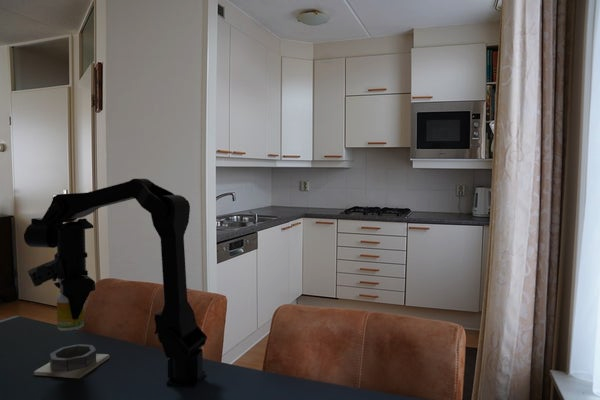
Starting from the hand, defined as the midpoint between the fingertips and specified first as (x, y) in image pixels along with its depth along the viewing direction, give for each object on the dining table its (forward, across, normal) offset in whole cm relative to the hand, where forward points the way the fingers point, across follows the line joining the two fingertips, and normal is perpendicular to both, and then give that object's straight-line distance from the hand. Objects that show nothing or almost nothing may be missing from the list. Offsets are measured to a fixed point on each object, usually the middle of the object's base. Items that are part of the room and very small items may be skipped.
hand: (73, 316), depth 98 cm
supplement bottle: (+3, 0, 0) cm, 3 cm away
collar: (+12, 0, 0) cm, 12 cm away
